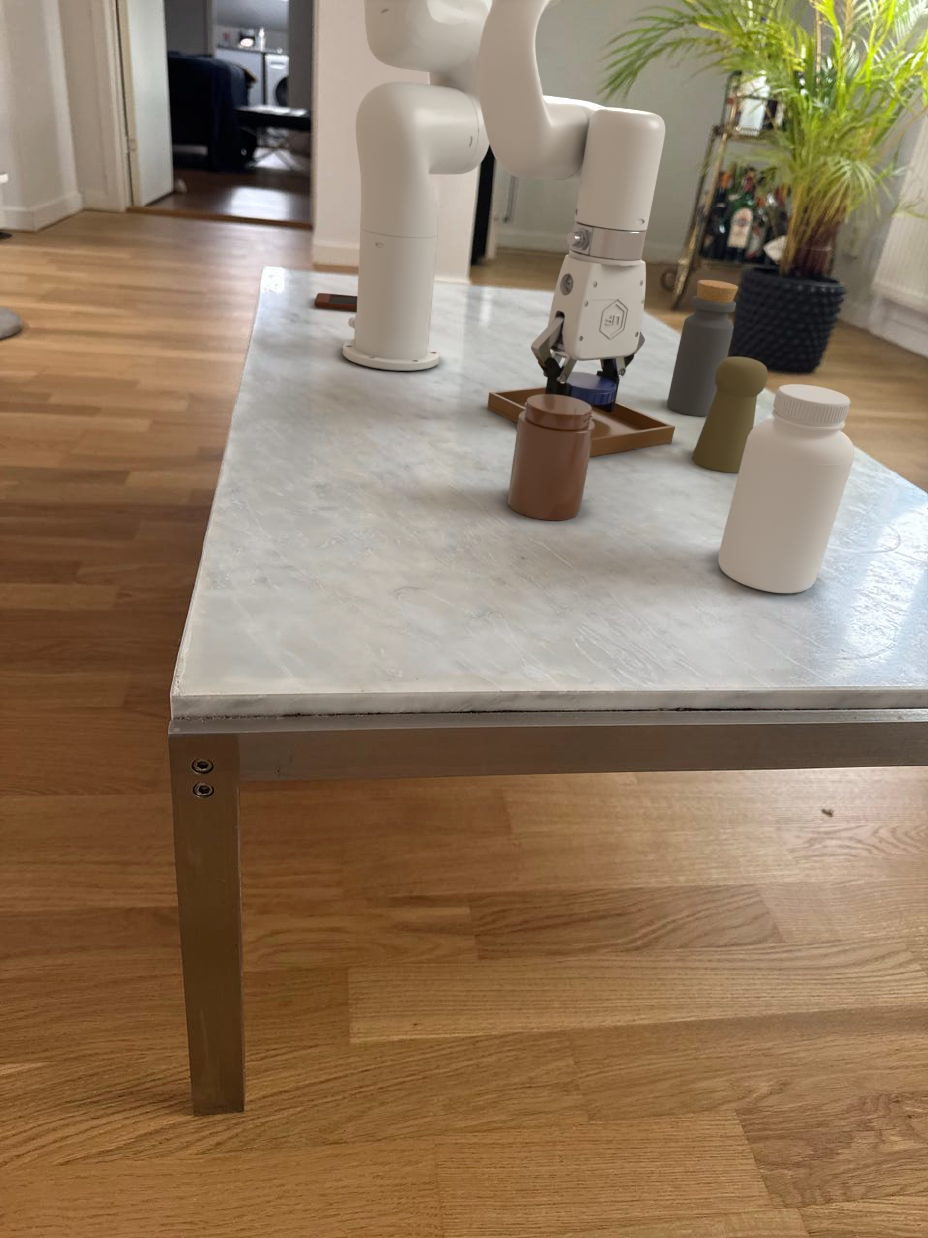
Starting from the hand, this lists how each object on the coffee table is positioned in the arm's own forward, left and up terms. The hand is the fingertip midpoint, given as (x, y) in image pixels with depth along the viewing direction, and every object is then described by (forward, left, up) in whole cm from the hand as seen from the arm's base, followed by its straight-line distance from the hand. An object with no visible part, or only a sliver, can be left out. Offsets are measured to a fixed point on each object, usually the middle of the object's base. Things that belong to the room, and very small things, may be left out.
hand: (578, 410), depth 106 cm
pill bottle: (+35, -11, -2) cm, 37 cm away
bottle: (0, +19, -2) cm, 19 cm away
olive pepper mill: (+15, +7, -2) cm, 17 cm away
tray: (0, 0, -2) cm, 2 cm away
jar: (+17, -19, -2) cm, 26 cm away
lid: (0, 0, +3) cm, 3 cm away
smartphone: (-57, +6, -2) cm, 57 cm away
